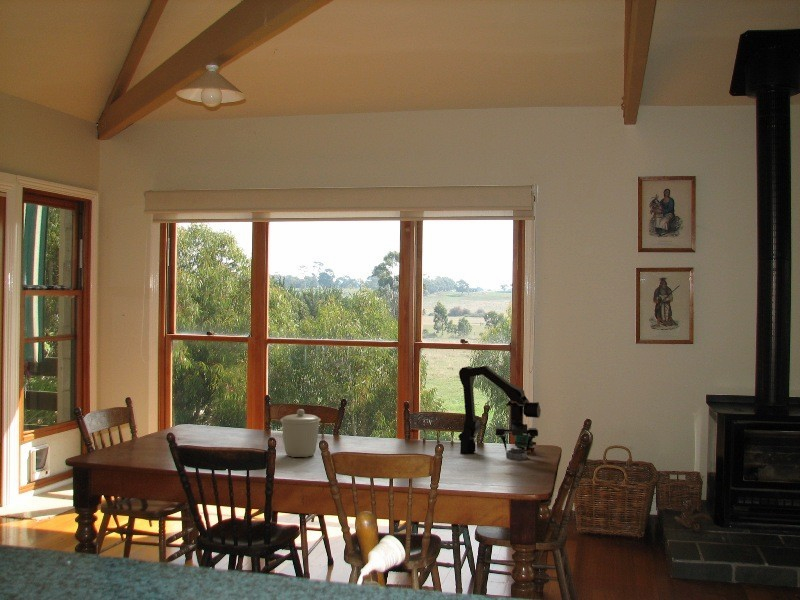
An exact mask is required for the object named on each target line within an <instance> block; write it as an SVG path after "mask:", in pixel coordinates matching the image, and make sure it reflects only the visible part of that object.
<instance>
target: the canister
mask: <svg viewBox="0 0 800 600" xmlns="http://www.w3.org/2000/svg"><path fill="white" fill-rule="evenodd" d="M321 420H322V419H321V418H320V417H318V416H317V415H315V414H308V413H305V410H304V408H303V409H302V408H298V409H297V411H296V413H294V414H288V415H285V416H283V417H282V418H280V420H279V421H280V422H281V428H282V437H283V445H284V452H285V454H286V455H287V456H288V457H290V456H291V457H290V458H294V457H305V458H310V457H311V456H314V455H315V454H316V450H317V444H318V434H319V427H320V422H321ZM309 456H310V457H309Z"/></svg>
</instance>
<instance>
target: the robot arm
mask: <svg viewBox="0 0 800 600" xmlns="http://www.w3.org/2000/svg"><path fill="white" fill-rule="evenodd" d="M458 376H459V381H460V383H461V384H462V385H461V386H462V389H463V398H464V399H463V400H464V412H465V419H464V421H463V422H464V423H463V429H462V432H461V433H460V434H459V435H458V439H459V441H460V450H459V451H460V452H459V454H465V455H466V454H470V455H474V454H475V452H476V442H475V438H476V436H477V435H478V434H479V433H480V430H481V429H482V428H481V420H480V419H478V418H477V417H476V407H475V393H474V383H475V379H476V376H483V377H485V378H486V379H487V380H489V381H490V382H491V383H493V384H494V385H496V387H498V388H499V389H501V391H503V392H504V394H505V395H506V396H507V398H508V399H509V400H508V402H506V403H505V406H506V407H509V411H510V413H509V420H510V421H509V423H510V424H509V429H505V427H503V426H502V427H501V426H497V427H495V428H494V429H495V430H494V433H495V436H498V438H501V440H502V442H503V443H502V444H503V447H504V450H505V452H506V451H508V448H507V441H506V434H509V435H510V434H511V435H512V436H515V437H516V435H520V436H522V435H524V434H528V435H527V444H526V447H525V449H526V451H528V448H529V445H530V442H531V440H532V441H533V439H535V438H536V437H539V431H538V429H537V427H528V423H527V424H525V423H524V416H525V417H526V418H535V419H539V418H540V417H541V414H542V413H541V412H542V411H541V406H540V402H539V401H537V402H536V401H534V402H533V401H532V402H531V401H529V399H528V398H527V396H526V395H525V390H524V389H523V388H521V387H519V386H518V385H516V384H513V383H510V382H508V380H506V379H504V378H503V377H502V376H501V375H499V374H498V373H496V372H495V371H494V370H493V369H491V368H490V367H489V366H488V365H481V366H475V367H472V366H470V365H467V366H464V367H461V368H460V370H458Z"/></svg>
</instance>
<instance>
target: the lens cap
mask: <svg viewBox="0 0 800 600" xmlns="http://www.w3.org/2000/svg"><path fill="white" fill-rule="evenodd" d="M510 450H511V453H513V454H521V453H522V449H521V448H517V447H511V448H510Z"/></svg>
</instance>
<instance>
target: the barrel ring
mask: <svg viewBox="0 0 800 600" xmlns="http://www.w3.org/2000/svg"><path fill="white" fill-rule="evenodd" d="M505 457H506V459H509V460H514V461H515V460H518V461H523V460H526V459H528V453H527V452H526V451H525V450H522V453H521V454H513V453H511V449H509V450H508V449H507V451H506V450H505Z"/></svg>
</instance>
